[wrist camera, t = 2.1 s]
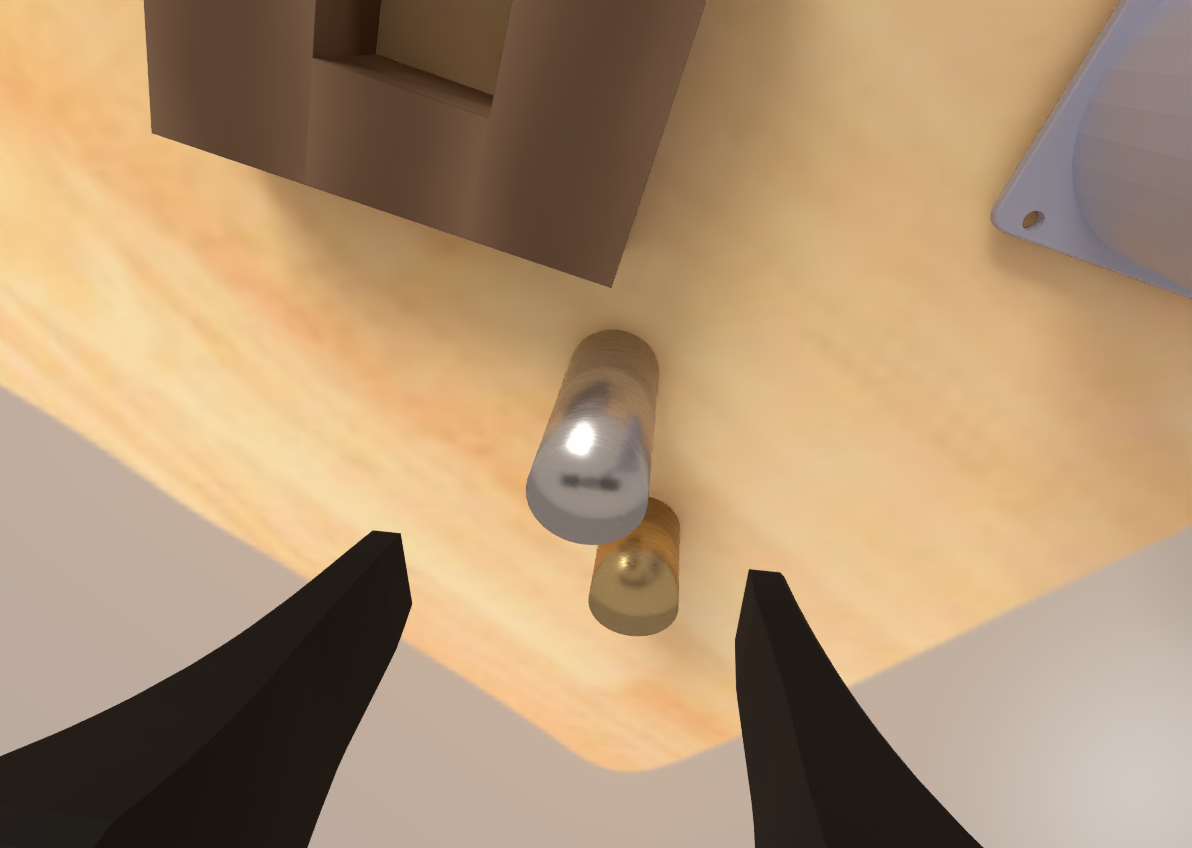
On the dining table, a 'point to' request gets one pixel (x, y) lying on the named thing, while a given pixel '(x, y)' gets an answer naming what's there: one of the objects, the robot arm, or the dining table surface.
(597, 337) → the steel pin
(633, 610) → the brass pin
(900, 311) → the dining table surface
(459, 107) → the walnut block
